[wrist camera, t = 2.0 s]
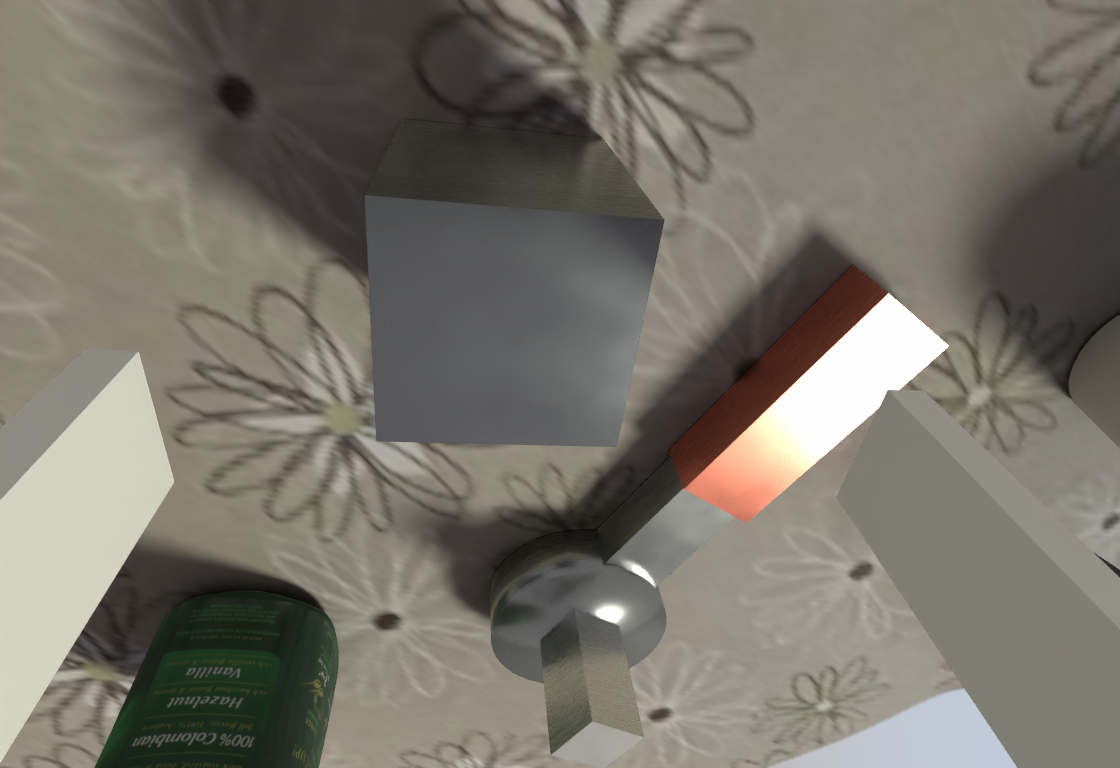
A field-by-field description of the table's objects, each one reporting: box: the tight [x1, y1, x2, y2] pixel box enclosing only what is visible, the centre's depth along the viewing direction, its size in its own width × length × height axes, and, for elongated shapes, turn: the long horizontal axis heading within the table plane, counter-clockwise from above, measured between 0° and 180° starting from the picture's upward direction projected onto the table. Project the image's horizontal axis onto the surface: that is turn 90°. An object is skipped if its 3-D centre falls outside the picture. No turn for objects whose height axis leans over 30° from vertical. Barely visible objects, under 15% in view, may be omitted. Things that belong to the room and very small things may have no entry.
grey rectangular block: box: [365, 119, 664, 447], centre depth 17 cm, size 6×6×8 cm
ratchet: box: [490, 265, 948, 768], centre depth 25 cm, size 23×8×8 cm, turn 143°
